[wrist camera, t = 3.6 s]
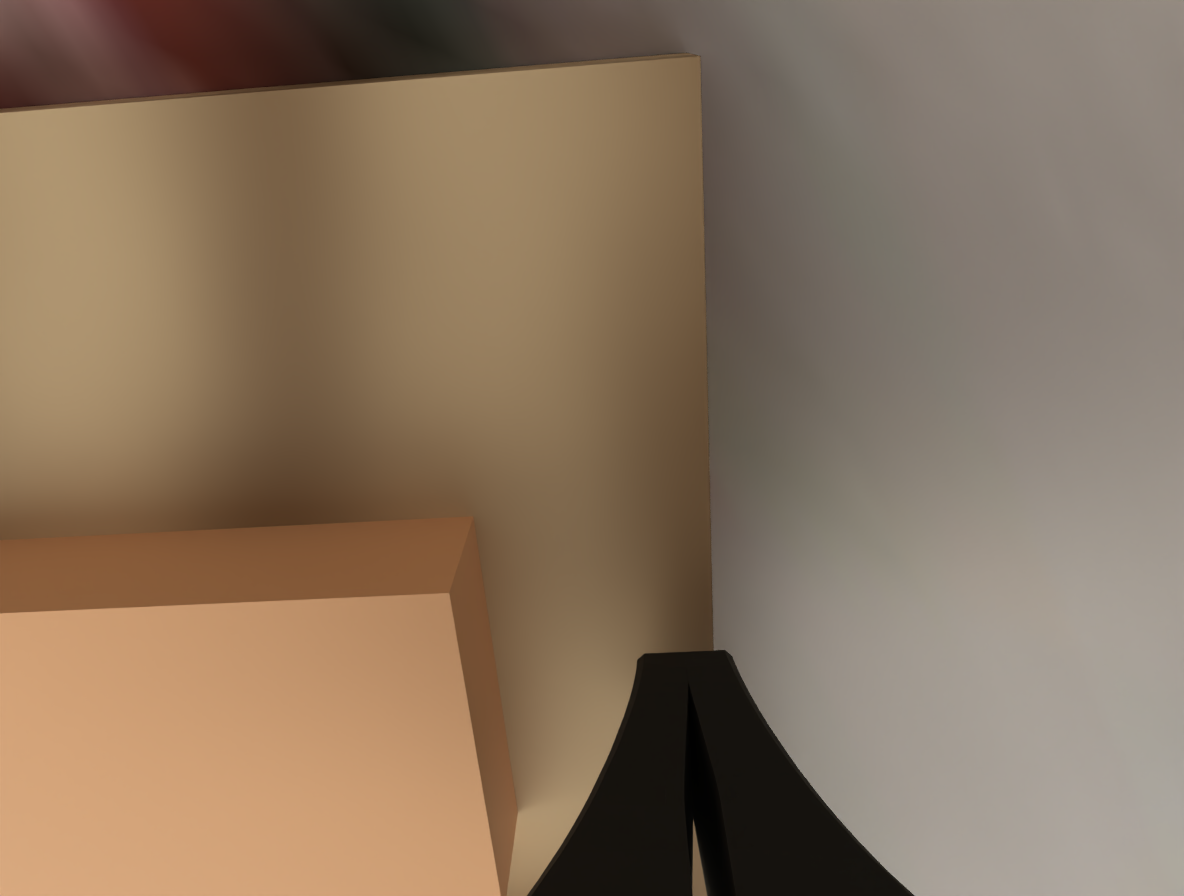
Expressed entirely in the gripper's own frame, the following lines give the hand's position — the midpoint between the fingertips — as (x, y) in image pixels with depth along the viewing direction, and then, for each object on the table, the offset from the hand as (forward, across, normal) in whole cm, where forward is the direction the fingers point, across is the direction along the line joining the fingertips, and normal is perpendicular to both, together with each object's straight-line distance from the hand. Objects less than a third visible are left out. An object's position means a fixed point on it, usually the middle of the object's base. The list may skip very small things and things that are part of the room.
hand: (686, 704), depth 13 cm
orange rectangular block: (+1, +8, 0) cm, 8 cm away
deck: (+3, +6, +2) cm, 7 cm away
